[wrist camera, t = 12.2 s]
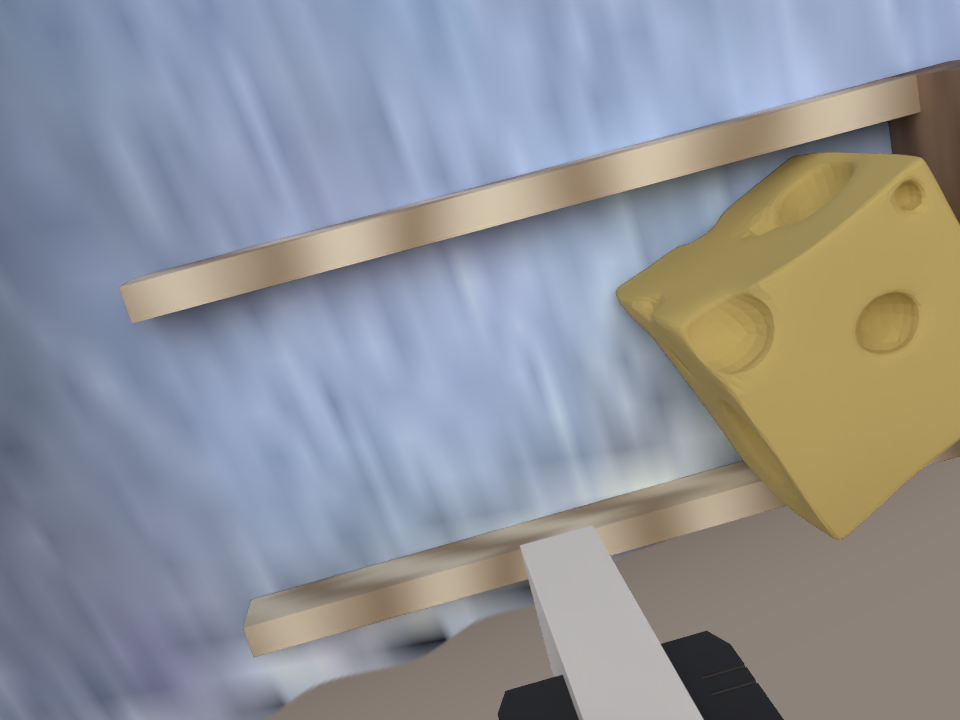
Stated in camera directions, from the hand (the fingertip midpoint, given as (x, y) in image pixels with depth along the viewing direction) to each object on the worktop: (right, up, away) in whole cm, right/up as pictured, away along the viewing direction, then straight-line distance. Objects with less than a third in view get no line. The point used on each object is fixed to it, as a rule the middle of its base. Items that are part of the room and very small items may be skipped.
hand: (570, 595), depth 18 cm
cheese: (+11, +7, +23) cm, 27 cm away
